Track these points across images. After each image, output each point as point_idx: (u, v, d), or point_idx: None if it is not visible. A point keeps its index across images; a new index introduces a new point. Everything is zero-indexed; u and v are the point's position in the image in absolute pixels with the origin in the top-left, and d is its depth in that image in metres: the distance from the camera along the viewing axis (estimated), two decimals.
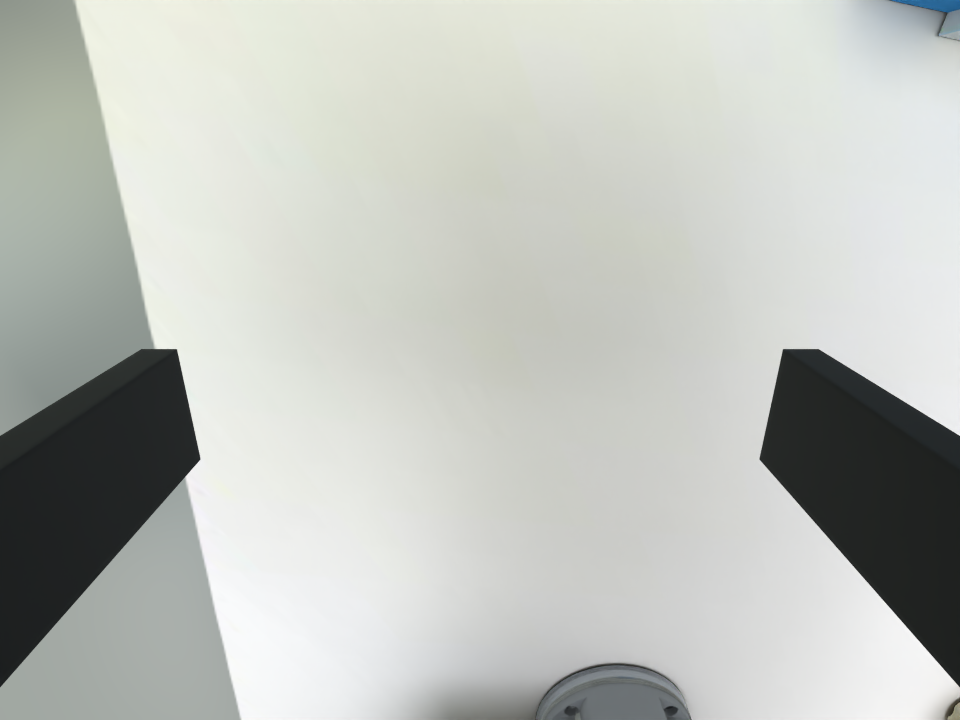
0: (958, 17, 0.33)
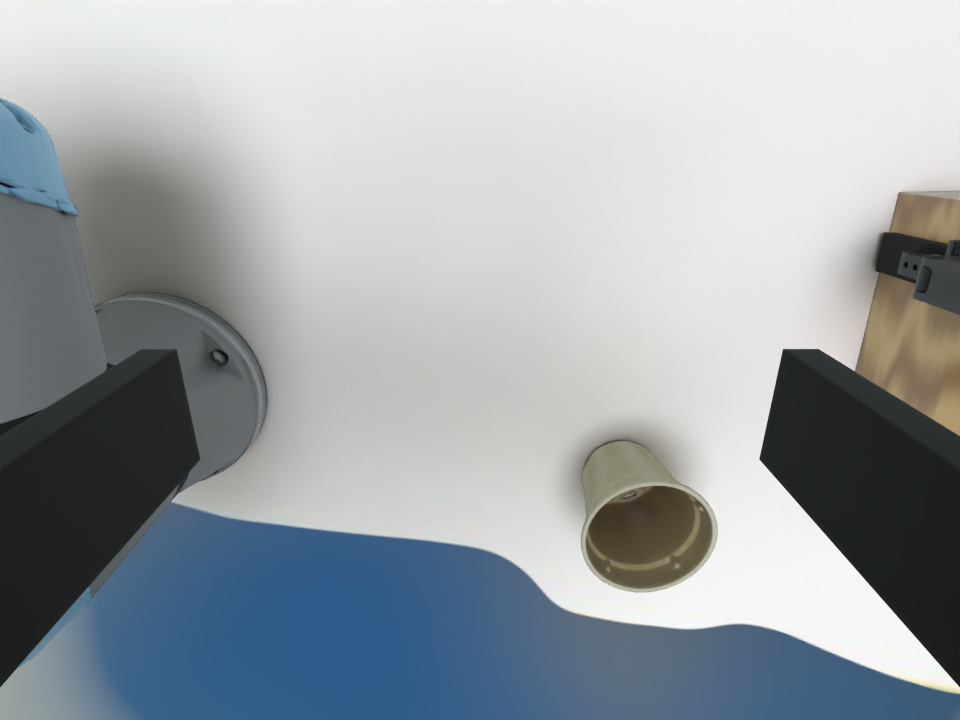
0: None
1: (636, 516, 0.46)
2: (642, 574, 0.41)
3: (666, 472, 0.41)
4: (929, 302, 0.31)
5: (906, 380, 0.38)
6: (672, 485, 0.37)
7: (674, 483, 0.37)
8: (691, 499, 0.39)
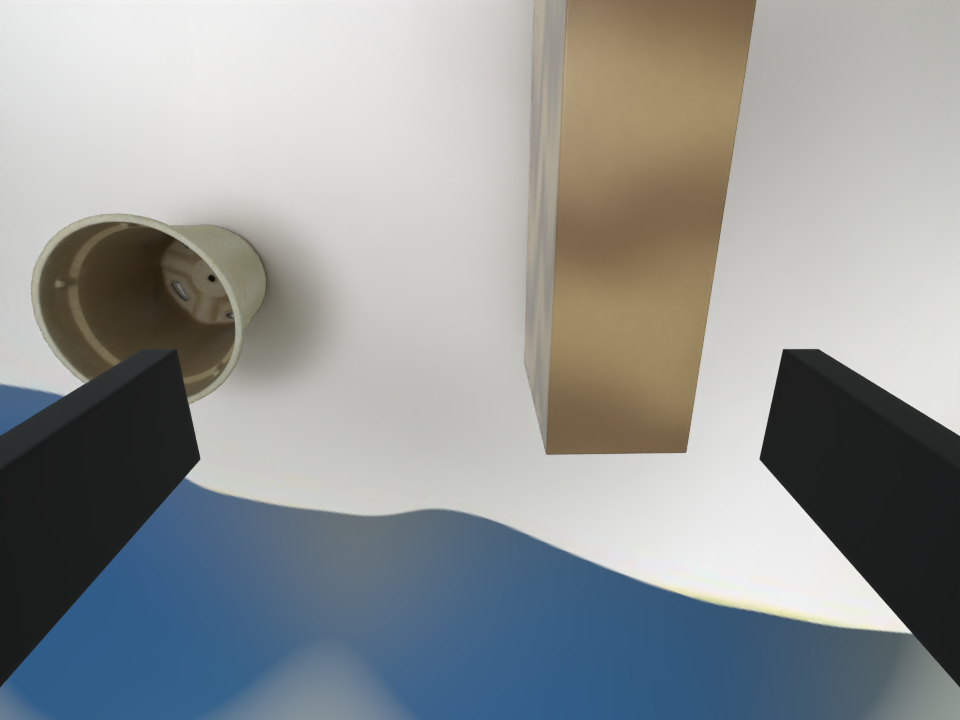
0: None
1: (229, 333, 0.33)
2: None
3: (205, 238, 0.28)
4: None
5: (549, 55, 0.17)
6: (142, 221, 0.24)
7: (146, 218, 0.24)
8: None
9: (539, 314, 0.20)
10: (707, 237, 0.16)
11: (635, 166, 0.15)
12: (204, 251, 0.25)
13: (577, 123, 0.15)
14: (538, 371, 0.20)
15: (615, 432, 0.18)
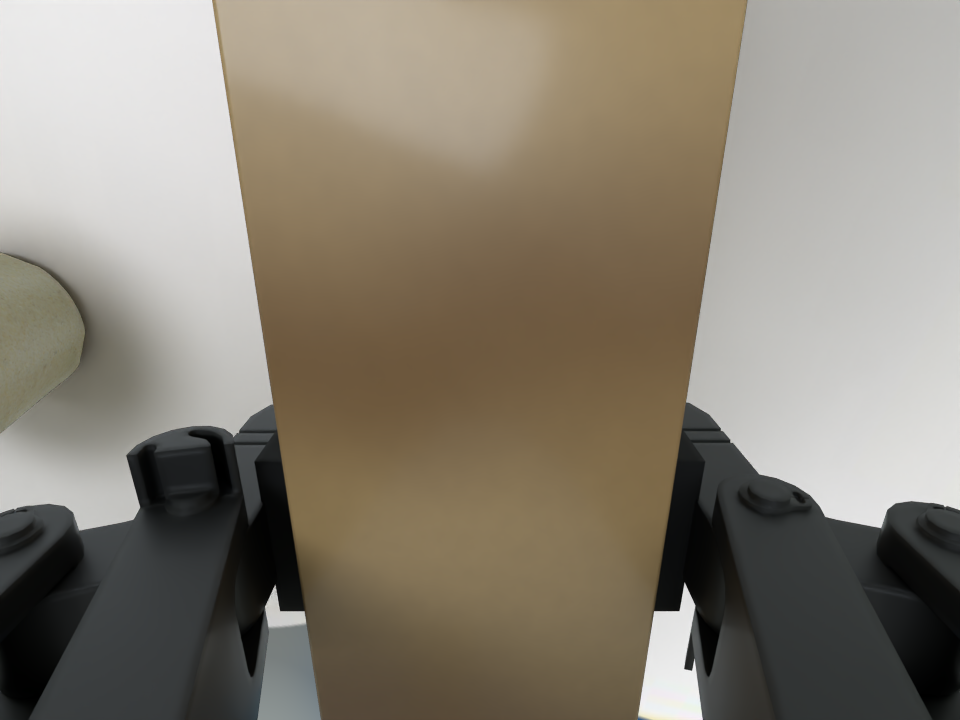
0: None
1: None
2: None
3: None
4: None
5: None
6: None
7: None
8: None
9: None
10: (660, 363, 0.06)
11: (451, 178, 0.05)
12: None
13: (265, 51, 0.05)
14: None
15: None
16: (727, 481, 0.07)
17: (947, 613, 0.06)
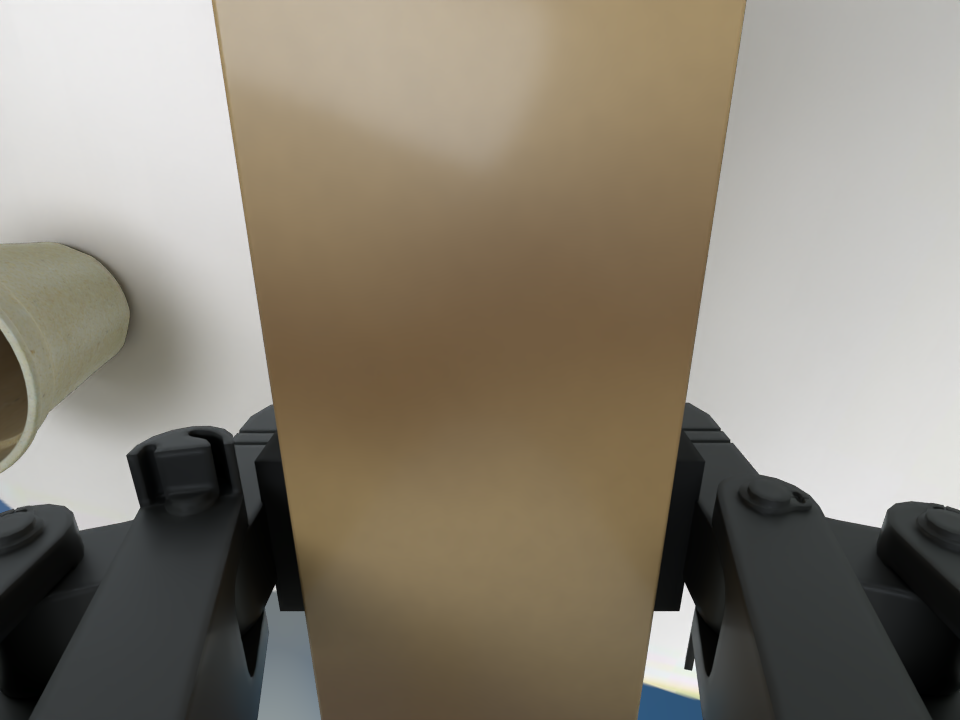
0: None
1: None
2: None
3: (11, 263, 0.21)
4: None
5: None
6: None
7: None
8: None
9: None
10: (659, 363, 0.06)
11: (450, 178, 0.05)
12: None
13: (265, 51, 0.05)
14: None
15: None
16: (727, 481, 0.07)
17: (947, 613, 0.06)
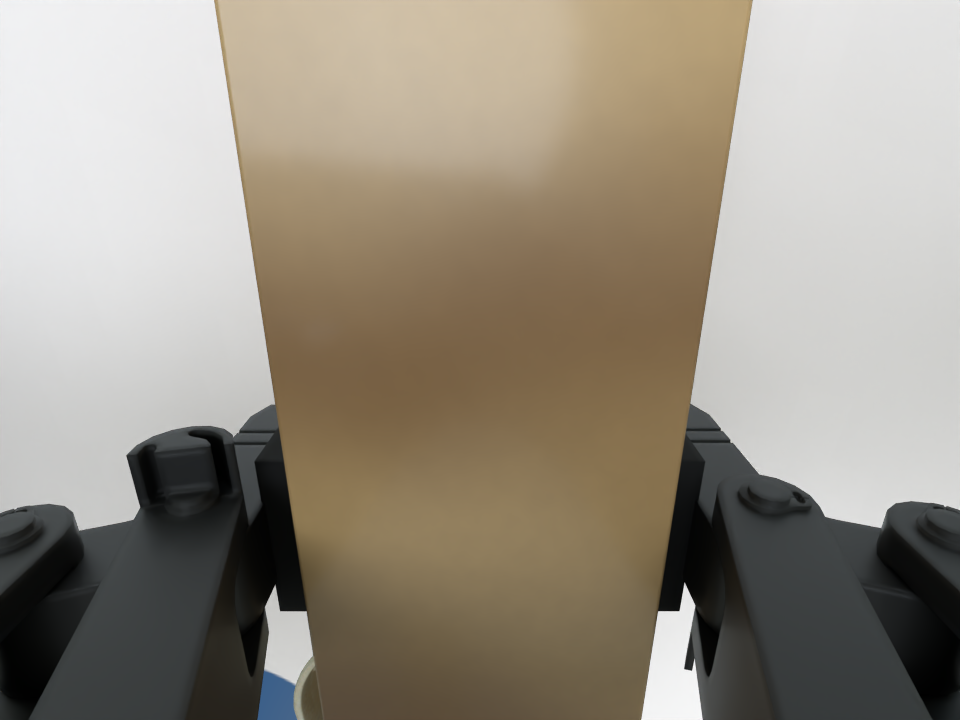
0: None
1: None
2: None
3: None
4: None
5: None
6: None
7: None
8: None
9: None
10: (664, 364, 0.06)
11: (455, 179, 0.05)
12: None
13: (268, 51, 0.05)
14: None
15: None
16: (727, 481, 0.07)
17: (947, 613, 0.06)
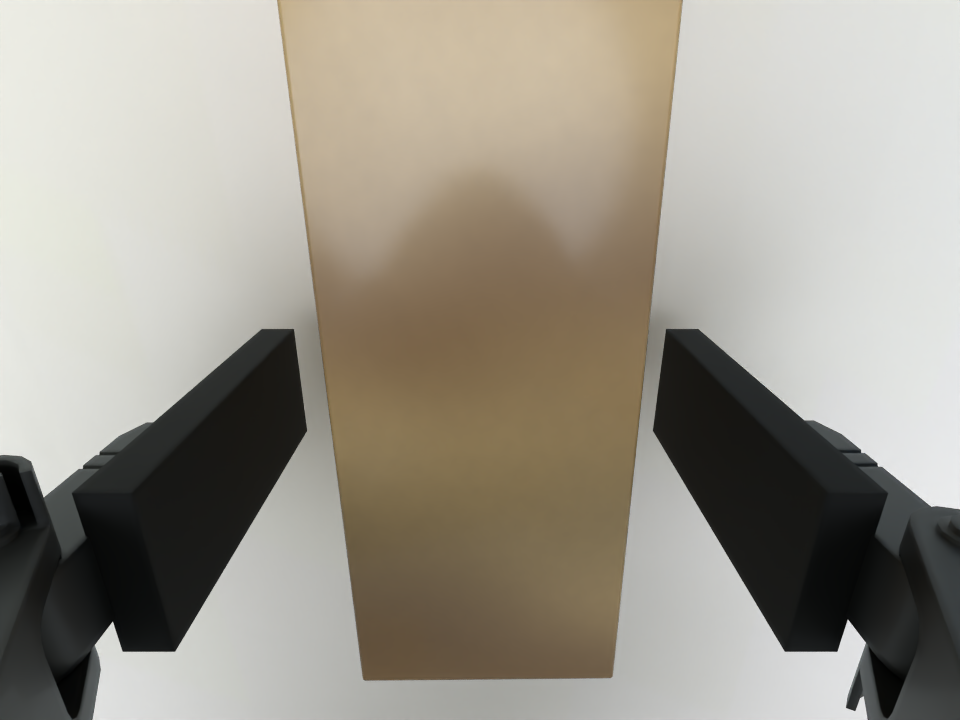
0: None
1: None
2: None
3: None
4: None
5: None
6: None
7: None
8: None
9: None
10: (625, 314, 0.08)
11: (460, 171, 0.07)
12: None
13: (321, 78, 0.07)
14: None
15: (482, 648, 0.10)
16: (922, 512, 0.07)
17: None
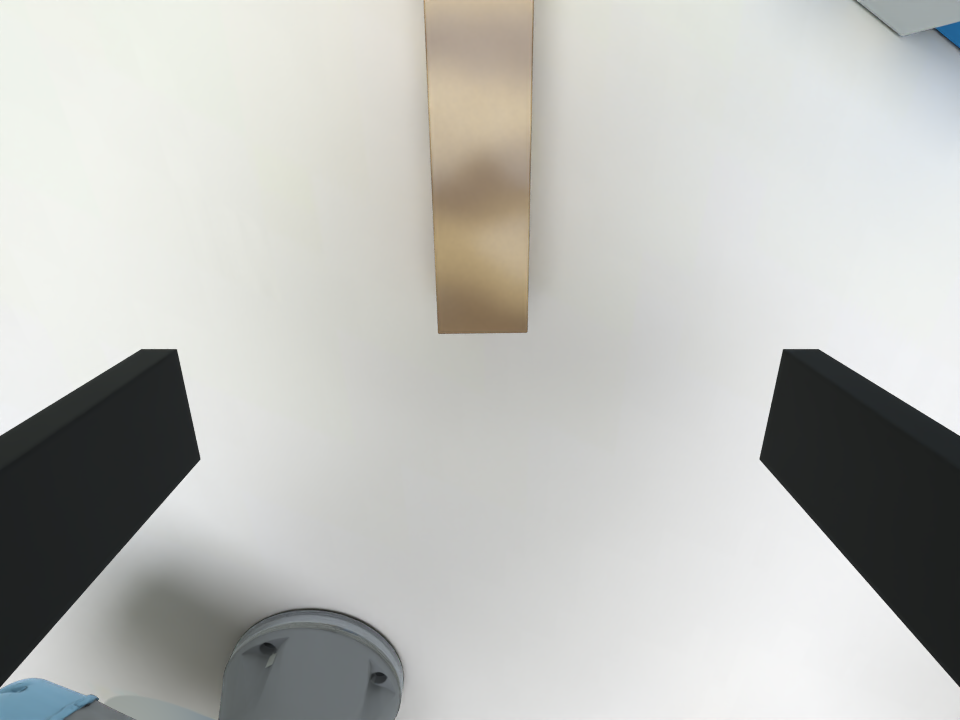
0: None
1: None
2: None
3: None
4: None
5: None
6: None
7: None
8: None
9: None
10: (522, 191, 0.27)
11: (474, 149, 0.26)
12: None
13: (438, 124, 0.26)
14: None
15: (480, 318, 0.29)
16: None
17: None
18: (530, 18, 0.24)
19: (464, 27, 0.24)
